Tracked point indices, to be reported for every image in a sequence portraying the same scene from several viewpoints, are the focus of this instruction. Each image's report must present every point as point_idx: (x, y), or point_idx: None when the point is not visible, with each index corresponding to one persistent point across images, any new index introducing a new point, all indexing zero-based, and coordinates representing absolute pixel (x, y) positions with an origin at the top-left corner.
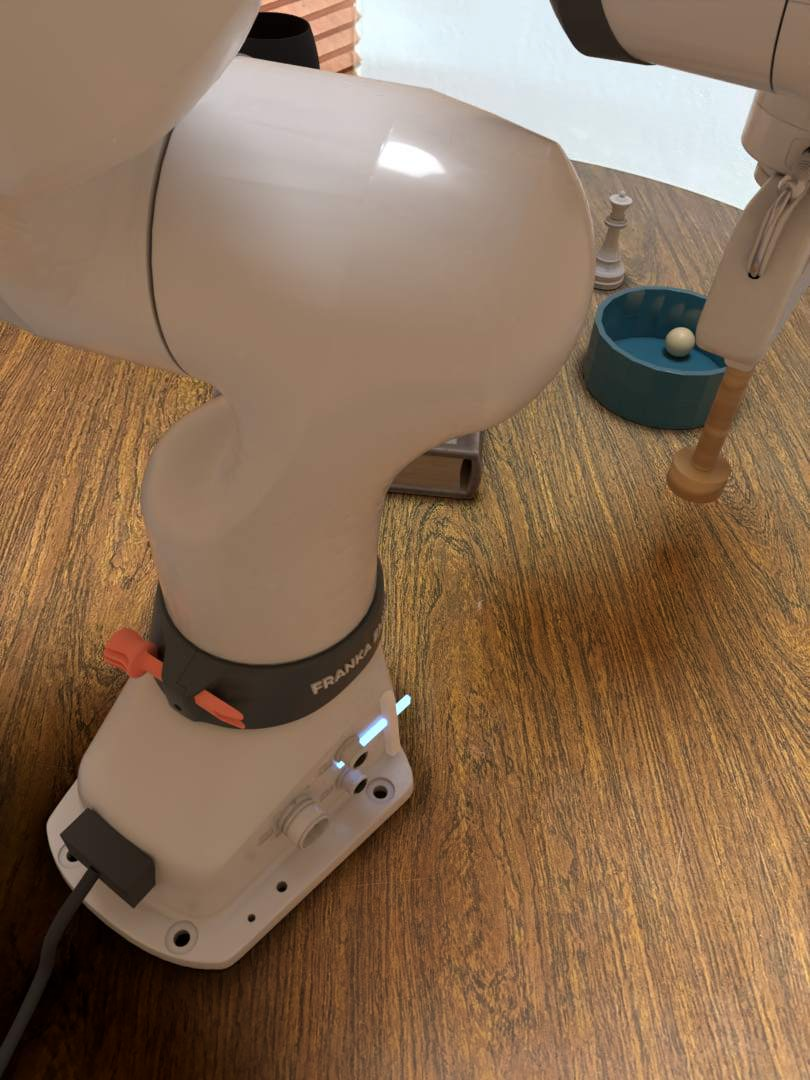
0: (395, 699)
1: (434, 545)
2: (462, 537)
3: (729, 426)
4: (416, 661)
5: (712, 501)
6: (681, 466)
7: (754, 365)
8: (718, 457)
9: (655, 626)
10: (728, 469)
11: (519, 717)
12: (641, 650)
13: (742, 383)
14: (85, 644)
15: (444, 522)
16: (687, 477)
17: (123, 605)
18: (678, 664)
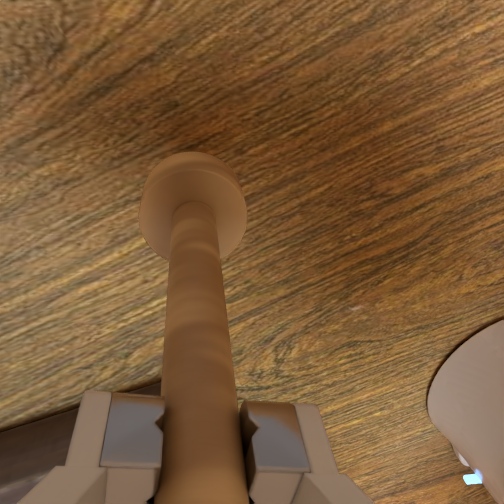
0: (485, 329)
1: (292, 368)
2: (270, 352)
3: (209, 256)
4: (437, 328)
5: (225, 163)
6: (219, 250)
7: (313, 414)
8: (158, 197)
9: (327, 131)
10: (187, 175)
11: (482, 232)
12: (369, 140)
13: (225, 343)
14: (466, 494)
15: (257, 372)
16: (243, 235)
17: (429, 496)
18: (379, 91)
